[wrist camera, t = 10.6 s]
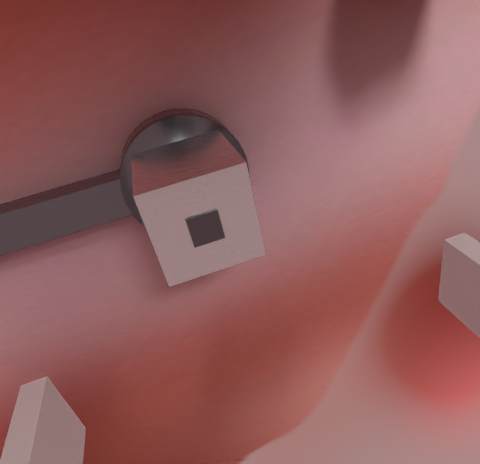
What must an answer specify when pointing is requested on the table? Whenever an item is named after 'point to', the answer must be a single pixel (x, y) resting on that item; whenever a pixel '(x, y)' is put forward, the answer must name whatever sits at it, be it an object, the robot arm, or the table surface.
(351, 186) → the table surface
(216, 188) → the socket
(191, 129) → the ratchet
